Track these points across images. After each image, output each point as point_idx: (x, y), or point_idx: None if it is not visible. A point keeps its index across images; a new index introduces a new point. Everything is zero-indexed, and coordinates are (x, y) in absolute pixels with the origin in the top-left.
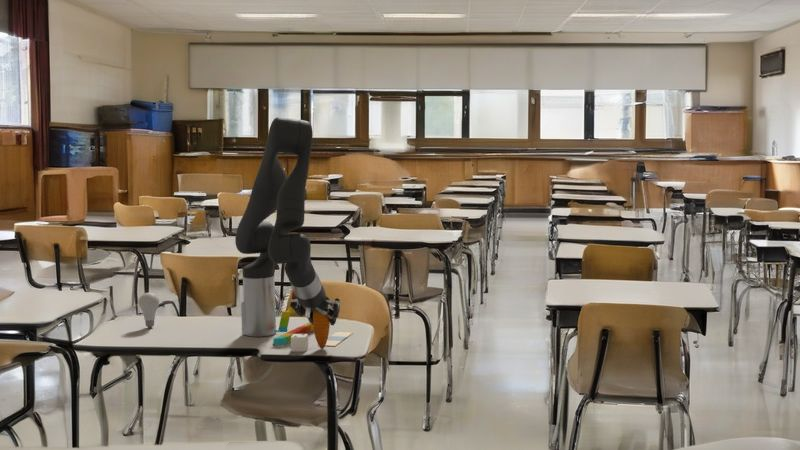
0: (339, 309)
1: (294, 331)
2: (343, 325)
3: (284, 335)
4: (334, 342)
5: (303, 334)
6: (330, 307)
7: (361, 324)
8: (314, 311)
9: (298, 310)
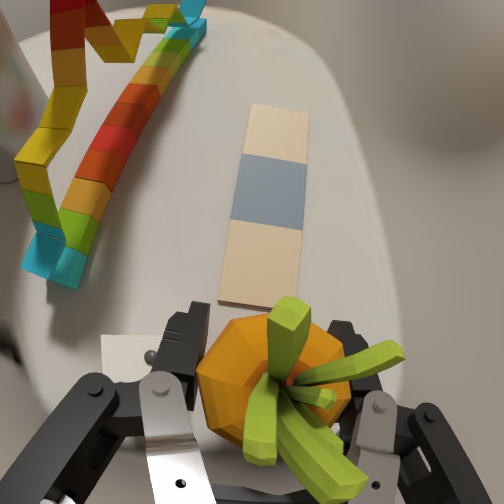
0: (441, 425)
1: (102, 151)
2: (252, 44)
3: (68, 217)
4: (280, 255)
5: (153, 357)
6: (389, 450)
7: (298, 42)
8: (224, 437)
9: (95, 482)
